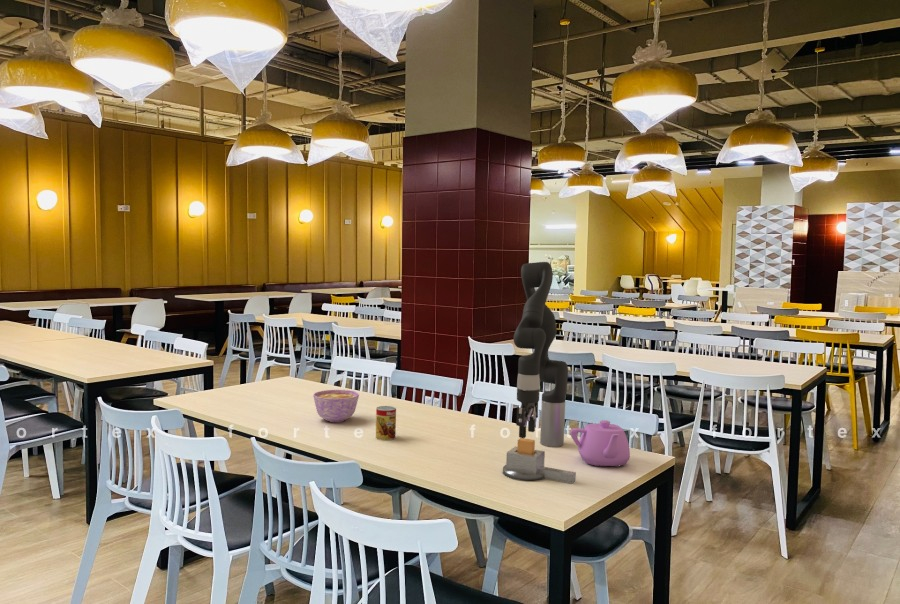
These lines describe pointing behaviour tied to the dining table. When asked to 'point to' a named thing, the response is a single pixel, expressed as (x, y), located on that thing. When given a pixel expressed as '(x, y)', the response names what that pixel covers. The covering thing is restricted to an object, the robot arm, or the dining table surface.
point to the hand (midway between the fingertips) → (526, 434)
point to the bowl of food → (336, 404)
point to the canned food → (385, 422)
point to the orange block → (526, 446)
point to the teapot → (602, 444)
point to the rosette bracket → (533, 468)
